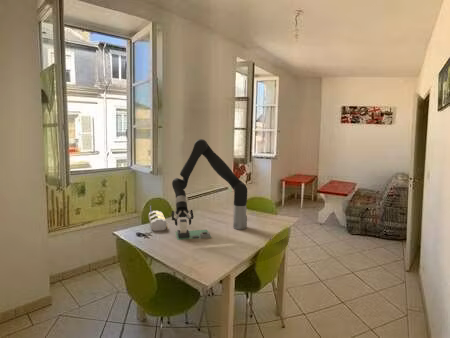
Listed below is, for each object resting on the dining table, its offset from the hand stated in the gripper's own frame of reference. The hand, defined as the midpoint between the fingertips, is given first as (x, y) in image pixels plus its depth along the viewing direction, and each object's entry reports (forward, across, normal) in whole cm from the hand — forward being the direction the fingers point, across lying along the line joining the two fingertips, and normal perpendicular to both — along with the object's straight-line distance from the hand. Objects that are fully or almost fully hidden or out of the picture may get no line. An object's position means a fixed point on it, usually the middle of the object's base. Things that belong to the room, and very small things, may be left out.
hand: (183, 224), depth 207 cm
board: (+6, +6, +7) cm, 11 cm away
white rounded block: (-15, -16, +28) cm, 36 cm away
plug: (+6, 0, +5) cm, 7 cm away
